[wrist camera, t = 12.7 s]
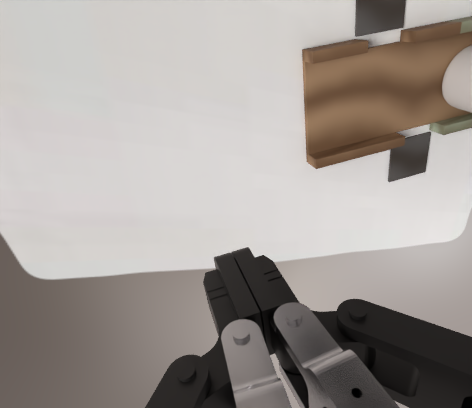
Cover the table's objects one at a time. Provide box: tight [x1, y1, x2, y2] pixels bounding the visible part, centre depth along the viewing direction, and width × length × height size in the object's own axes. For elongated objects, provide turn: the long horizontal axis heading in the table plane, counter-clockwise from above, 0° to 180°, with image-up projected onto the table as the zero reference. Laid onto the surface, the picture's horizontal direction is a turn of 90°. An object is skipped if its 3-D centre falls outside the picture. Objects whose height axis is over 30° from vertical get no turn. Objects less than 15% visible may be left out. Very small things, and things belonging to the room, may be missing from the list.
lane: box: [302, 0, 472, 182], centre depth 43 cm, size 26×28×4 cm
